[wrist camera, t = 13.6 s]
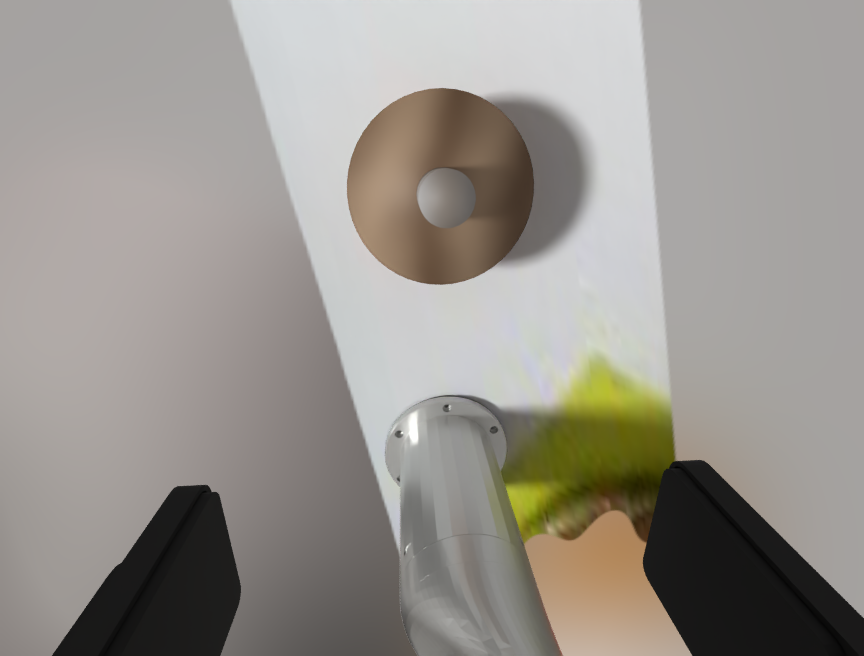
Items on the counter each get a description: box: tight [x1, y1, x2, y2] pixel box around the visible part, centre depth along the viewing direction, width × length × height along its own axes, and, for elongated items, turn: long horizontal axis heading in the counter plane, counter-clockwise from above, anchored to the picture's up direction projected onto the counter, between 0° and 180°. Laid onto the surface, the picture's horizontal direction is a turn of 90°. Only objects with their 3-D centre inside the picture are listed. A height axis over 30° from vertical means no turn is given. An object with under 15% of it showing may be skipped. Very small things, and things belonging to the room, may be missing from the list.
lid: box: [347, 88, 534, 285], centre depth 29 cm, size 13×13×5 cm
